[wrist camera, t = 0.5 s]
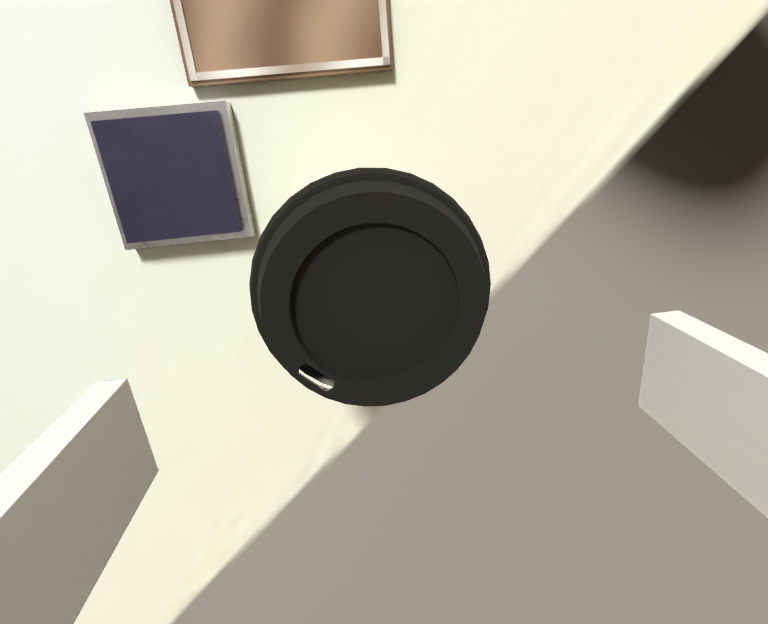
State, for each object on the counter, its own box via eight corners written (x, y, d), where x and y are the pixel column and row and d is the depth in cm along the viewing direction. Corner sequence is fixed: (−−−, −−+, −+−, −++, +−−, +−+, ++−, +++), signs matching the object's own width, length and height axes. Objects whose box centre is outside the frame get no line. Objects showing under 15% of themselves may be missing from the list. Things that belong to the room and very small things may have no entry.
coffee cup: (458, 223, 31) (557, 288, 17) (368, 326, 33) (390, 460, 19) (347, 124, 28) (355, 102, 14) (257, 244, 30) (185, 329, 16)
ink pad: (133, 246, 29) (121, 252, 28) (94, 114, 26) (78, 112, 25) (255, 233, 30) (250, 238, 28) (230, 102, 27) (222, 99, 25)
